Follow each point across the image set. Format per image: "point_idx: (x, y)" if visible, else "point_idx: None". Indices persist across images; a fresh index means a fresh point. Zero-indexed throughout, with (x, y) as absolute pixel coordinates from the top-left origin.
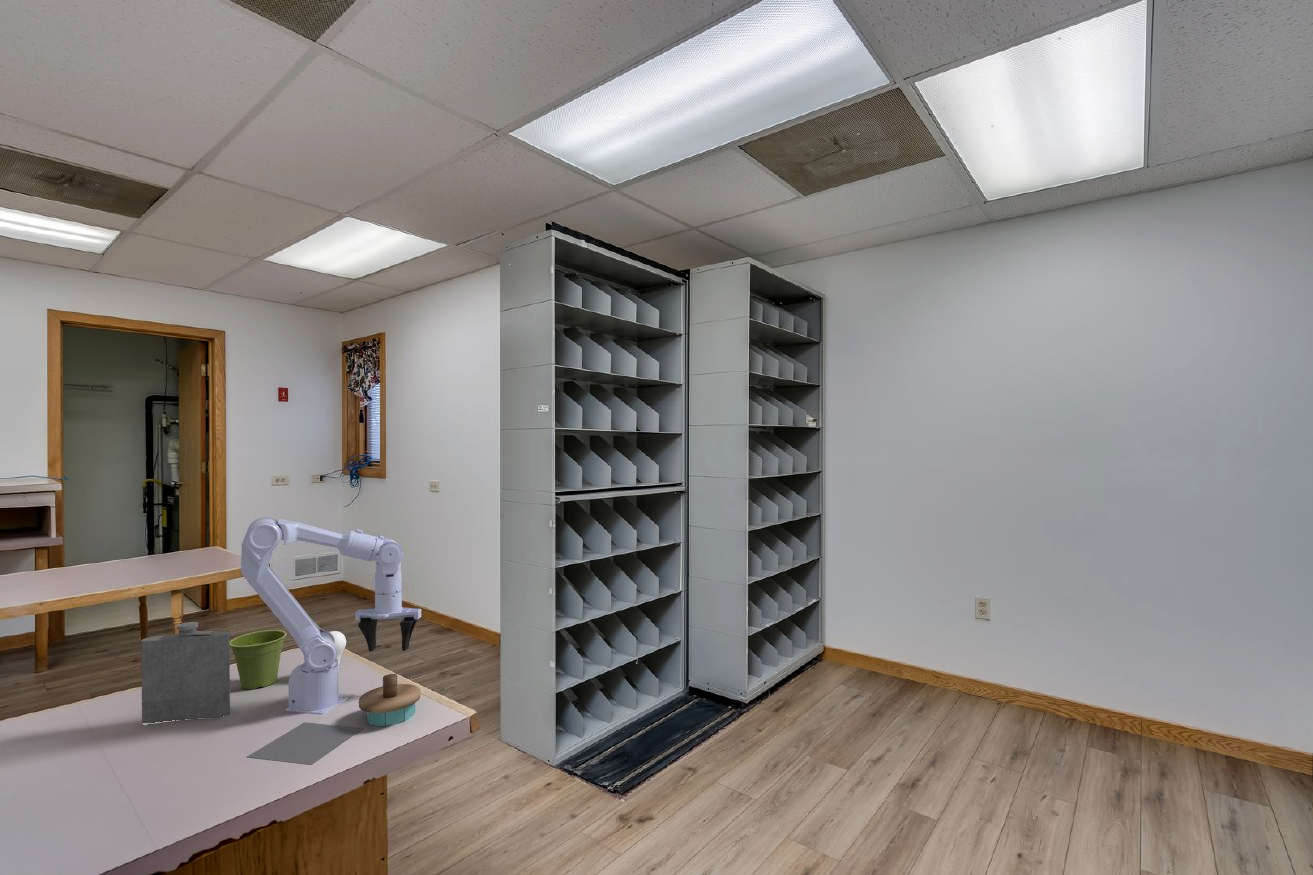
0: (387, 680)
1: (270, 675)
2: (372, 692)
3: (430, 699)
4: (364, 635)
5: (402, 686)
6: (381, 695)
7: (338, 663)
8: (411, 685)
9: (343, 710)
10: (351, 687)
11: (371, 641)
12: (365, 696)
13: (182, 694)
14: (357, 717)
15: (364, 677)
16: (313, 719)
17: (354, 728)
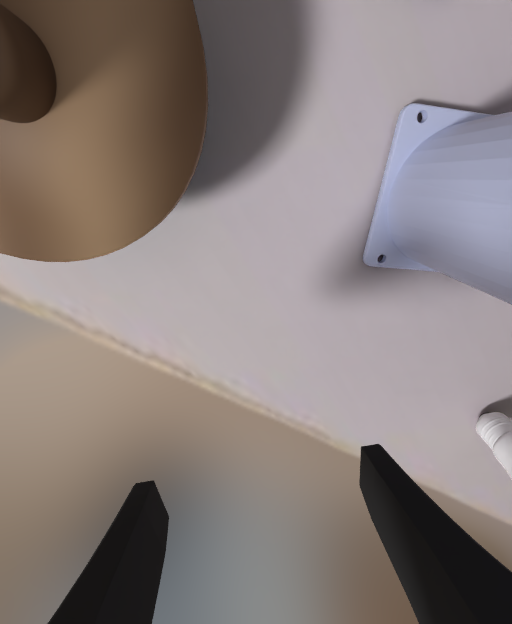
0: None
1: None
2: (164, 112)
3: (48, 302)
4: (505, 572)
5: (45, 226)
6: (68, 63)
7: (496, 448)
8: (3, 245)
9: (335, 169)
10: (393, 354)
11: (399, 518)
12: (167, 31)
13: None
14: (238, 101)
15: (383, 417)
16: (424, 61)
17: None
